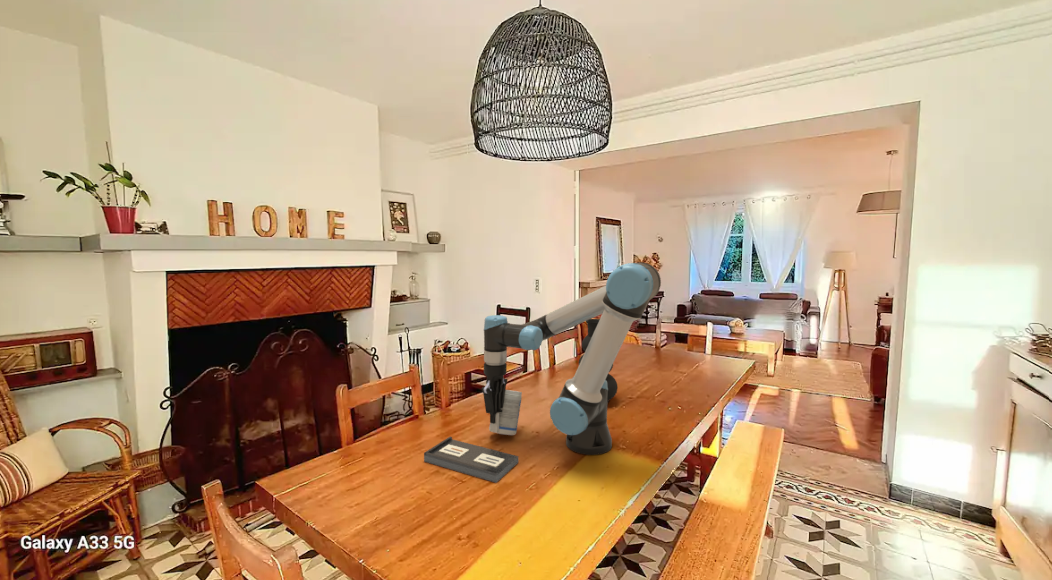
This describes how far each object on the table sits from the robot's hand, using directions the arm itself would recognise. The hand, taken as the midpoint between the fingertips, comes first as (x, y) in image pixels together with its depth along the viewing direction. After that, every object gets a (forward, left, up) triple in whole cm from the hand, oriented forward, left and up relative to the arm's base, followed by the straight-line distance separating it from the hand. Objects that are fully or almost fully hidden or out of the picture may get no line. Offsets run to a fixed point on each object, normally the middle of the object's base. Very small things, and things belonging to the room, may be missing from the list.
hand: (494, 431), depth 146 cm
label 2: (-7, +14, -2) cm, 16 cm away
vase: (-17, -53, -4) cm, 56 cm away
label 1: (+6, +14, -2) cm, 16 cm away
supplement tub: (0, -5, -3) cm, 5 cm away
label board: (0, +14, -4) cm, 15 cm away
